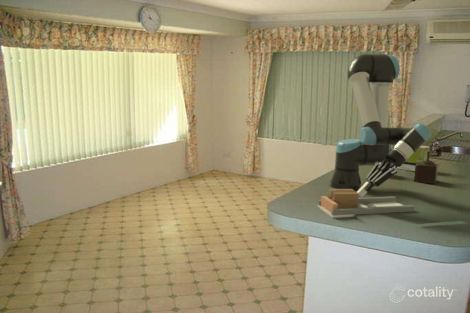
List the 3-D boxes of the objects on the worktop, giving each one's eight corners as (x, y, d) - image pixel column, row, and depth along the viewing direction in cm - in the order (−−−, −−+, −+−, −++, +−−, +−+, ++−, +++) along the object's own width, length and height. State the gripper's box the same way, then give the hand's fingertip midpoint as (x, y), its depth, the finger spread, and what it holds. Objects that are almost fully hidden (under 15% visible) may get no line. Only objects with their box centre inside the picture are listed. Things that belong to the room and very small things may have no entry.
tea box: (428, 170, 248) (431, 146, 245) (422, 173, 241) (425, 148, 238) (402, 166, 258) (405, 143, 255) (396, 168, 251) (399, 144, 248)
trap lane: (317, 206, 173) (318, 195, 172) (393, 202, 181) (394, 191, 180) (332, 217, 160) (333, 205, 159) (414, 213, 168) (415, 201, 167)
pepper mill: (435, 185, 214) (440, 150, 211) (413, 181, 220) (416, 148, 217) (440, 179, 227) (444, 147, 223) (419, 176, 233) (422, 144, 229)
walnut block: (327, 205, 173) (328, 188, 171) (350, 204, 173) (352, 188, 172) (333, 210, 166) (334, 193, 164) (357, 210, 167) (358, 193, 165)
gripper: (413, 163, 164) (372, 206, 164) (394, 157, 177) (356, 196, 176) (403, 151, 162) (361, 193, 162) (384, 145, 175) (345, 185, 174)
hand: (358, 195), depth 169 cm, fingers closed
